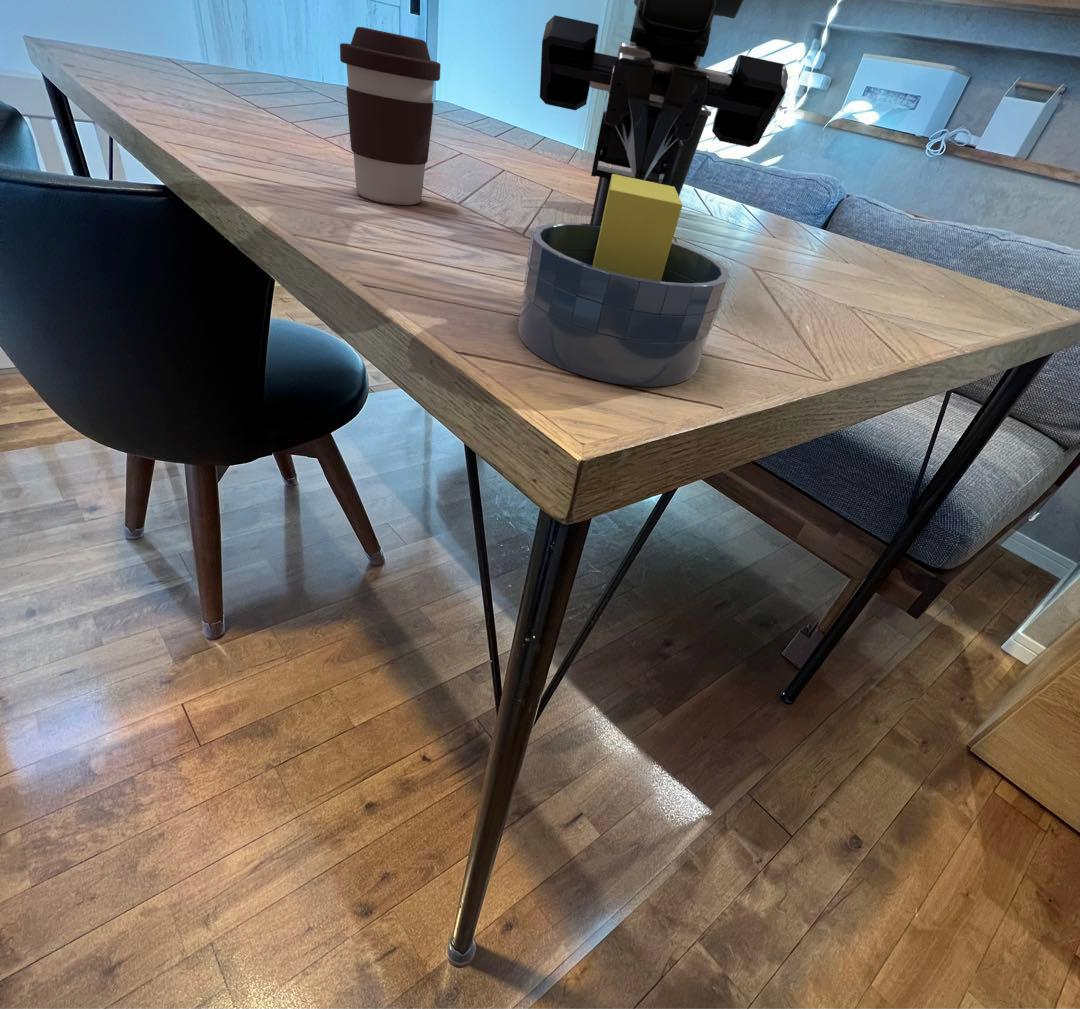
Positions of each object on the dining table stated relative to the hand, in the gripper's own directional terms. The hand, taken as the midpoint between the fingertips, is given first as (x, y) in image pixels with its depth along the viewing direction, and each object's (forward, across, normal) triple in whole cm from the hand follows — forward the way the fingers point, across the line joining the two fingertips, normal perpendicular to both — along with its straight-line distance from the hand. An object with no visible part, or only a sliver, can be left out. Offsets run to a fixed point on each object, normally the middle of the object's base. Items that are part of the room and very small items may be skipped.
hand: (639, 177), depth 45 cm
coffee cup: (-8, -26, +22) cm, 35 cm away
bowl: (+14, 0, -1) cm, 14 cm away
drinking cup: (-29, +6, +42) cm, 51 cm away
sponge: (+11, 0, -1) cm, 11 cm away
